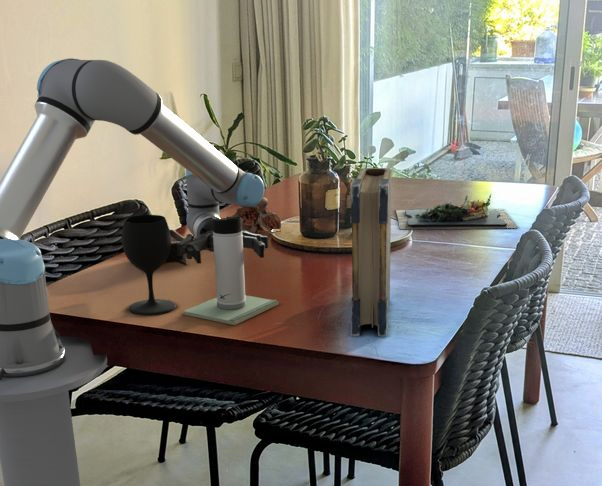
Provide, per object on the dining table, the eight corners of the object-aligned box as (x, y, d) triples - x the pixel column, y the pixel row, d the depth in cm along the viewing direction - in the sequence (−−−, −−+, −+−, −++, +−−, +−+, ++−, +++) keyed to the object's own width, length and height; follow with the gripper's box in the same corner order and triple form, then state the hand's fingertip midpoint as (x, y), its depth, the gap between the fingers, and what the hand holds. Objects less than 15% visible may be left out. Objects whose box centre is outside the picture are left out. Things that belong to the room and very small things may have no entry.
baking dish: (183, 259, 237) (177, 223, 235) (195, 265, 221) (188, 226, 218) (131, 269, 234) (124, 232, 231) (139, 275, 217) (131, 236, 215)
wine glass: (119, 312, 189) (110, 222, 182) (146, 298, 198) (138, 212, 191) (158, 317, 185) (151, 225, 178) (185, 303, 194) (178, 215, 187)
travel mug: (223, 312, 185) (218, 220, 178) (213, 303, 191) (207, 214, 183) (250, 307, 187) (246, 216, 180) (239, 299, 193) (235, 211, 186)
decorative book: (386, 336, 171) (388, 185, 160) (350, 335, 172) (350, 185, 161) (391, 300, 193) (393, 164, 182) (359, 299, 194) (359, 164, 183)
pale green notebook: (234, 325, 179) (234, 320, 179) (183, 314, 187) (183, 310, 186) (278, 304, 192) (278, 300, 191) (228, 295, 199) (228, 291, 199)
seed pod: (214, 217, 247) (260, 203, 241) (230, 194, 260) (274, 180, 254) (233, 256, 253) (278, 243, 247) (247, 232, 266) (291, 219, 260)
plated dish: (502, 208, 281) (503, 186, 278) (519, 229, 255) (520, 205, 252) (394, 211, 283) (394, 189, 280) (400, 232, 257) (400, 208, 254)
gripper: (264, 243, 206) (288, 266, 187) (159, 253, 200) (173, 277, 181) (263, 212, 203) (287, 232, 184) (157, 221, 197) (170, 242, 178)
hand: (230, 254), depth 182 cm, fingers open, 13 cm apart
